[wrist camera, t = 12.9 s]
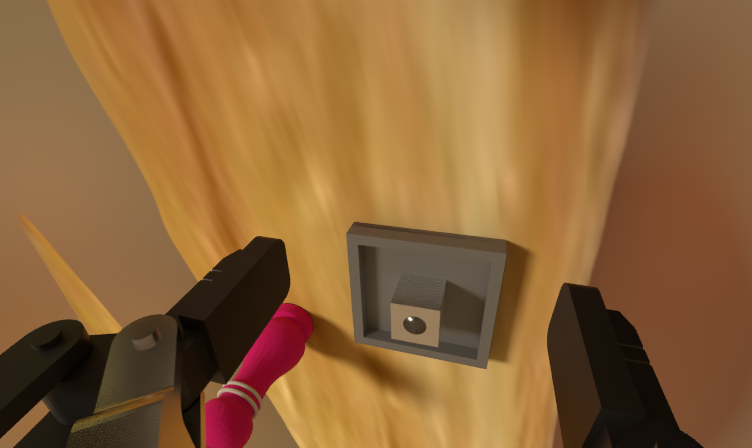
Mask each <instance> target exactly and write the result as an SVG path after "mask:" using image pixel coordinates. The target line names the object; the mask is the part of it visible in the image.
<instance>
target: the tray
mask: <svg viewBox="0 0 752 448" xmlns="http://www.w3.org/2000/svg"><path fill="white" fill-rule="evenodd" d="M346 235H347V247H348V260H349V273H350V286H351V299H352V312H353V324H354V337H355V342H356V343H361V344H366V345H371V346H376V347H381V348H386V349H390V350H395V351H400V352H405V353H410V354H415V355H420V356H425V357H429V358H434V359H439V360H444V361H449V362H454V363H459V364H464V365H468V366H473V367H478V368H483V369H487V363H488V358H489V352H490V346H491V341H492V335H493V329H494V324H495V318H496V312H497V307H498V301H499V295H500V290H501V284H502V278H503V273H504V267H505V262H506V256H507V243H506V240H501V239H492V238H484V237H476V236H467V235H459V234H450V233H442V232H434V231H425V230H417V229H408V228H400V227H391V226H383V225H375V224H366V223H358V222H354V223H353V225H352V226H351V227H350V229H349V230H348V232H347V233H346ZM401 274H408V275H415V276H422V277H429V278H436V279H444V280H446V293H445V308H444V317H443V323H442V328H441V334H440V340H439V345H438V347H433V346H428V345H423V344H417V343H412V342H407V341H402V340H396V339H391V304H390V303H391V300H392V297H393V295H394V292H395V289H396V287H397V284H398V281H399V279H400V276H401Z"/></svg>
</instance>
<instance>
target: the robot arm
mask: <svg viewBox="0 0 752 448" xmlns="http://www.w3.org/2000/svg"><path fill="white" fill-rule="evenodd" d="M289 288H290V274H289V268H288V262H287V255H286V249H285V244H284V242H283V241H282V240H281V239H275V238H269V237H262V236H257V237H255V238H254V239H253V240H252V241H251V242H250V243H249V244H248V245H247V246H246V247H245V248H244V249H243V250H240V249H239V250H237V251H236V252H234V253H232V254H230V255H228V256H226V257H225V258H223V259H222V260H221V261H220V262H219V263H218V264H217V265H216V266H215V267H214V268H213V269H212V271H210V272H209V273H208V274H207V275H206V276H205V277H204V278H203V280H200V281H199V282H198V283H197V284H196V285H195V286H194V287H193V288H192V289H191V290H190V291H189V292H188V293H187V294H186V295H185V296H184V297H183V298H182V299H181V300H180V301H179V302H178V303H177V304H176V305H174V307H172V308H171V309H170V310H169V311H168V312H167V313H166V314H165V315H162V314H158V315H150V316H146V317H143V318H141V319H138V320H136V321H134V322H132V323H130V324H129V325H127V326H126V327H124V328H123V329H122V330H121V331H120V332H119V333H116V334H102V335H89V334H88V333H87V331H86V329H85V327H84V326H83V324H82V323H81V322H79V321H77V320H71V319H70V320H59V321H55V322H52V323H49V324H46V325H44V326H41V327H39V328H37V329H35V330H34V331H32V332H30V333H29V334H27V335H26V336H24V337H23V338H22V339H20V340H19V341H18V342H17V343H15V344H14V345H12V346H11V347H10V348H9V349H7V350H6V351H5V352H3V353H2V354H1V355H0V439H1V437H2V436H3V435H5V434H6V433H7V431H9V430H10V429H11V428H12V427H13V426H14V425H15V424H16V423H17V422H18V421H19V420H20V419H21V418H23V417H24V416H25V415H26V414H27V413H28V412H29V411H30V410H31V409H32V408H33V407H34V406H35V405H36V404H37V403H38V402H39V401H41V400H42V401H43V402H44V404H45V405H46V406H47V408H48V409H49V410H50V412H49V413H48V414H47V415H46V416H45V417H44V418H43V419H42V420H41V421H40V422H39V423H38V424H37V425H36V426H35V427H34V428H32V429H31V430H30V432H29V433H28V434H26V436H24V437H23V439H21V440H20V442H18V443H17V444H16V445H15V446H14V447H13V448H206V423H205V394H204V391H203V390H204V388H205V387H206V386H207V384H208V383H209V381H212V382H216V383H220V384H224V385H226V384H227V383H228V381H229V379H230V378H231V377H232V375H233V374H234V372H235V371H236V369H237V368H238V367H239V365H240V364H241V362H242V361H243V359H244V358H245V356H246V355H247V354H248V352H249V351H250V349H251V348H252V346H253V345H254V343H255V342H256V340H257V339H258V338H259V336H260V335H261V333H262V332H263V330H264V329H265V327H266V326H267V324H268V323H269V322H270V320H271V319H272V317H273V316H274V314H275V313H276V311H277V310H278V309H279V307H280V306H281V304H282V303H283V301H284V300H285V298H286V296H287V294H288V292H289ZM547 348H548V355H549V361H550V367H551V373H552V379H553V385H554V391H555V398H556V404H557V410H558V416H559V422H560V428H561V434H562V440H563V446H564V448H704V447H703V446H702V445H701V444H700V443H698V442H697V441H696V440H695V439H693V438H692V437H691V436H689V435H688V434H687V433H685V432H683V431H682V430H680V428H679V427H678V424H677V422H676V420H675V418H674V415H673V413H672V411H671V408H670V406H669V404H668V402H667V399H666V398H665V395H664V393H663V390H662V388H661V386H660V384H659V381H658V379H657V377H656V374H655V372H654V370H653V368H652V366H651V365H650V364H649V363H650V361H649V359H648V356H647V354H646V352H645V350H643V345H642V343H641V340H640V338H639V336H638V334H637V331H636V329H635V328H634V326H633V325H632V324H631V323H630V322H629V321H628V320H627V319H626V318H625V317H624V316H623V315H622V314H621V313H620V312H619V311H615V310H609V309H606V307H605V305H604V302H603V299H602V297H601V294H600V291H599V290H598V288H596V287H591V286H584V285H577V284H571V283H564V284H563V285H562V287H561V290H560V293H559V296H558V299H557V302H556V305H555V308H554V311H553V314H552V317H551V320H550V323H549V327H548V334H547Z"/></svg>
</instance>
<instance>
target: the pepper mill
mask: <svg viewBox="0 0 752 448" xmlns="http://www.w3.org/2000/svg"><path fill="white" fill-rule="evenodd" d="M313 327H314V326H313V321H312V319H311V317H310V316H309V315H308V313H307V312H306V311H304V310H303V309H302V308H300V307H298V306H296V305H293V304H289V303H283V304H281V306H280V307H279V309H278V310H277V311H276V313H275V314H274V316H273V317H272V319H271V320H270V322H269V323H268V324H267V326H266V327H265V329H264V330H263V332H262V333H261V335H260V336H259V338H258V339H257V340H256V342H255V343H254V345H253V346H252V348H251V349H250V351H249V352H248V354H247V355H246V356H245V358H244V362H243V364H242V367H241V369H240V370H239V372H238V374H237V375H236V376H235V378H234V379H233V380H232V381H228V383H227V384H226V385H223V388H222V389H221V390H220V391H219V392H218V394H217V398H215V399H212V400H210V401H208V402H207V403H205V423H206V448H243V446H244V445H245V444H246V443H247V441H248V440H249V438H250V436H251V434H252V430H253V422H252V419H254V418H256V417H257V416H258V412H259V411H260V410H261V409H262V407H263V401H262V399H263V397H264V395H265V393H266V392H267V390H268V389H269V387H270V386H271V385H272V384H273V382H274V381H275V380H276V379H278V378H279V377H281V376H282V375H284V374H285V373H287V372H288V371H290V370H291V369H292V368H293V367H294V366H295V365H296V364H297V363H298V362H299V361H300V359H301V358H302V356H303V354H304V351H305V342H306V341H307V340H308V338H309V337H310V335H311V333H312V331H313Z"/></svg>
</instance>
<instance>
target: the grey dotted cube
mask: <svg viewBox="0 0 752 448" xmlns="http://www.w3.org/2000/svg"><path fill="white" fill-rule="evenodd" d="M445 293H446V280H444V279H436V278H429V277H422V276H415V275H408V274H401V276H400V279H399V281H398V284H397V287H396V289H395V292H394V295H393V297H392V300H391V303H390V304H391V339H396V340H402V341H407V342H412V343H417V344H423V345H428V346H433V347H438V345H439V340H440V334H441V328H442V323H443V317H444V308H445Z"/></svg>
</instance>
